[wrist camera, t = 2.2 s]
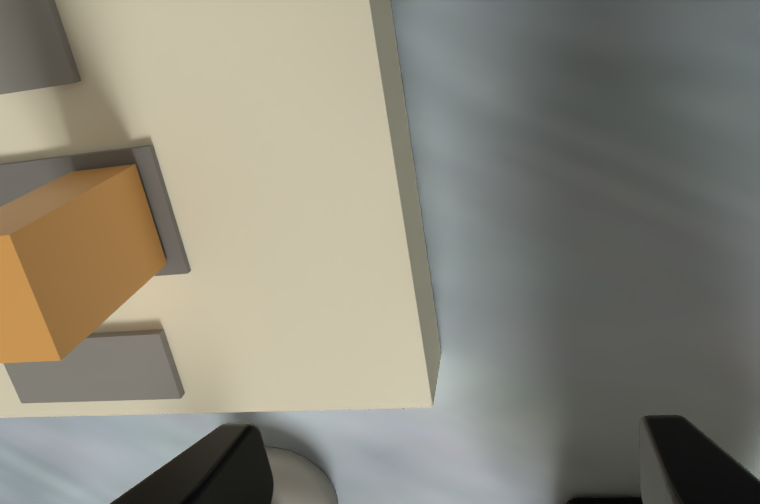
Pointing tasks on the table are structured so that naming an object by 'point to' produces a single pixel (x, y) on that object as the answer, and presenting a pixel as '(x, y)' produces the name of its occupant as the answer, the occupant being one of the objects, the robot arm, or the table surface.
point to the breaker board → (231, 202)
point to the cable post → (298, 480)
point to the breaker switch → (72, 260)
